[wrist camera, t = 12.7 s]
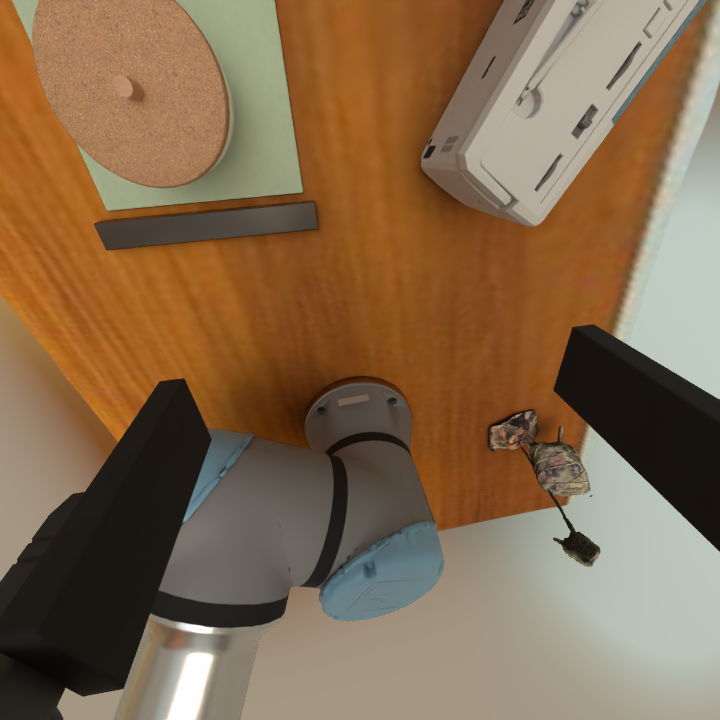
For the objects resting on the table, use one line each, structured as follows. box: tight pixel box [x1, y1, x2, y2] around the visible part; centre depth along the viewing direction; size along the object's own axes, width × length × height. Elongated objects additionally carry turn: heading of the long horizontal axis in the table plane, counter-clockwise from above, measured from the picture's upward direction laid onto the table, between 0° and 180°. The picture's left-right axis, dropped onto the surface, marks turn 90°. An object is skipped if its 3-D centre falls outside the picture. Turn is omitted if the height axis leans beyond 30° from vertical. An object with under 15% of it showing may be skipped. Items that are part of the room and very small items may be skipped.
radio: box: [421, 0, 707, 226], centre depth 20 cm, size 21×8×20 cm, turn 151°
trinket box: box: [32, 0, 235, 188], centre depth 23 cm, size 11×11×9 cm
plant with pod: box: [489, 410, 600, 567], centre depth 45 cm, size 8×11×20 cm
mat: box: [12, 0, 303, 211], centre depth 27 cm, size 14×18×1 cm
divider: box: [94, 201, 318, 250], centre depth 31 cm, size 2×20×2 cm, turn 94°
